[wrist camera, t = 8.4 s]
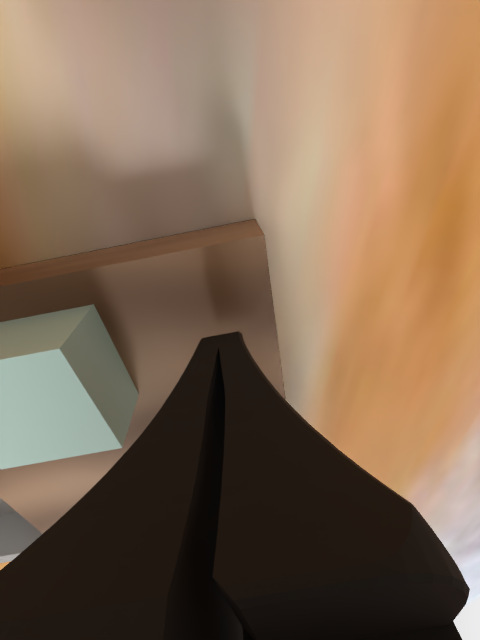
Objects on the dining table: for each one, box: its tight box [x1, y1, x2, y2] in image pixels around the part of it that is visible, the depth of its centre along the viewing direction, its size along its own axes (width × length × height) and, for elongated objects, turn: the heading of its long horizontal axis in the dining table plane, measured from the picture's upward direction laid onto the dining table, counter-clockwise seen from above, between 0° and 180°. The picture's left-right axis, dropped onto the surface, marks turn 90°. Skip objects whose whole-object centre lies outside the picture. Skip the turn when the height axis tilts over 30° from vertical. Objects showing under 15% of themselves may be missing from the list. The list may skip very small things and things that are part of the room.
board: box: [0, 219, 285, 534], centre depth 15 cm, size 17×16×2 cm
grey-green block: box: [0, 304, 139, 469], centre depth 10 cm, size 4×4×3 cm
